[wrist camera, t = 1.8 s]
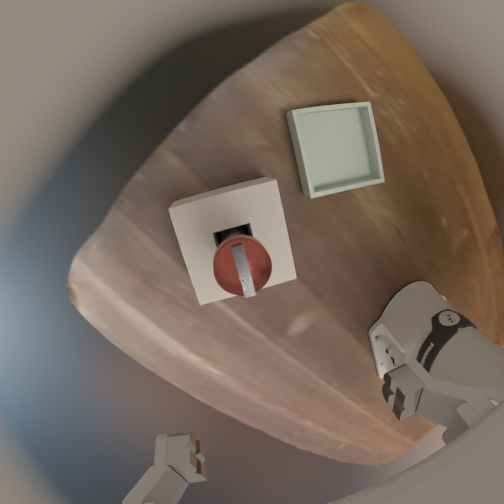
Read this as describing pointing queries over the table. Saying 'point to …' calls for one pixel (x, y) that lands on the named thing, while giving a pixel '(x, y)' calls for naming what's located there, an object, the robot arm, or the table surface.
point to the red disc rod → (241, 263)
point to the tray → (335, 148)
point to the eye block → (228, 216)
